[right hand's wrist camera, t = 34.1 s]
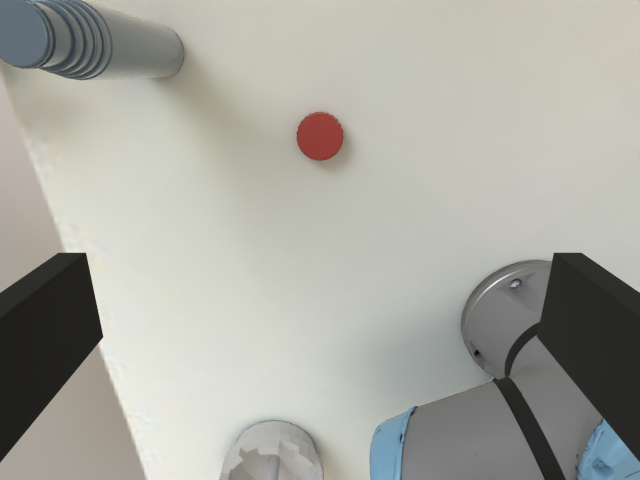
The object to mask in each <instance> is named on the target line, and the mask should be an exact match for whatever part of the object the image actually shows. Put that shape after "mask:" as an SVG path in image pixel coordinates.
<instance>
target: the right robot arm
mask: <svg viewBox="0 0 640 480" xmlns="http://www.w3.org/2000/svg"><path fill="white" fill-rule="evenodd" d="M461 330H462V336H463V340H464V342H465V345H466V346H467V348H468V350H469V352H470V354H471V356H472V357H473V359H474V360H475V362H476V363H477V364H478V365H479V366H480V367H481V368H482V369H483V370H485V371H486V372H488V373H489V374H491V375H492V376H493V377H495V378H494V379H493V381H492V382H489V383H487V384H484V385H481V386H478V387H475V388H473V389H470V390H467V391H464V392H461V393H459V394H456V395H453V396H450V397H447V398H444V399H441V400H438V401H435V402H432V403H429V404H426V405H423V406H420V407H419V406H418V407H417V406H415V407H412V408H410V409H409V410H408V412H405V413H403V414H401V415H398V416H396V417H393V418H391V419H388V420H386V421H384V422H383V423H381V424H380V425H379V426H378V427H377V429H376V430H375V433H374V435H373V438H372V443H371V447H370V477H371V480H640V293H639V292H638V291H636V290H635V289H633V288H632V287H630V286H629V285H627V284H626V283H625V282H623V281H622V280H620V279H619V278H617V277H616V276H614V275H613V274H611V273H610V272H609V271H607V270H606V269H604V268H603V267H601V266H600V265H598V264H597V263H595V262H594V261H593V260H591V259H590V258H588V257H587V256H585V255H584V254H582V253H554V256H553V260H552V262H549V261H540V260H535V261H524V262H519V263H516V264H512V265H509V266H507V267H504V268H502V269H500V270H498V271H497V272H495V273H493V274H492V275H490V276H489V277H488V278H486V279H485V280H484V281H483V282H482V283H481V284H480V285H479V286H478V287H477V288H476V289H475V290H474V292H473V293H472V294H471V296H470V297H469V299H468V301H467V303H466V305H465V308H464V311H463V315H462V321H461ZM102 338H103V333H102V328H101V324H100V319H99V314H98V309H97V304H96V299H95V294H94V290H93V285H92V280H91V275H90V270H89V265H88V260H87V256H86V253H58V254H56V255H55V256H53V257H52V258H50V259H49V260H48V261H46V262H45V263H43V264H42V265H40V266H39V267H37V268H36V269H34V270H33V271H32V272H30V273H29V274H27V275H26V276H24V277H23V278H21V279H20V280H19V281H17V282H15V283H14V284H13V285H11V286H10V287H8V288H7V289H5V290H4V291H2V292H1V293H0V462H1V461H2V460H3V458H4V457H5V456H6V455H7V454H8V452H9V451H10V450H11V449H12V447H13V446H14V445H15V444H16V443H17V441H18V440H19V439H20V438H21V436H22V435H23V434H24V433H25V432H26V430H27V429H28V428H29V427H30V426H31V424H32V423H33V422H34V421H35V419H36V418H37V417H38V416H39V415H40V413H41V412H42V411H43V410H44V408H45V407H46V406H47V405H48V404H49V402H50V401H51V400H52V399H53V398H54V396H55V395H56V394H57V393H58V391H59V390H60V389H61V388H62V387H63V385H64V384H65V383H66V382H67V380H68V379H69V378H70V377H71V376H72V374H73V373H74V372H75V371H76V369H77V368H78V367H79V366H80V365H81V363H82V362H83V361H84V360H85V359H86V357H87V356H88V355H89V354H90V352H91V351H92V350H93V349H94V348H95V346H96V345H97V344H98V343H99V342H100V340H101V339H102Z"/></svg>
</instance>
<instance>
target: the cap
mask: <svg viewBox="0 0 640 480" xmlns="http://www.w3.org/2000/svg"><path fill="white" fill-rule="evenodd" d="M298 128H299V129H298V132H297V141H298V146H299V147H300V149H301V151H302V152H303V153H304V154H305V155H306V156H307V157H309V158H311V159H314V160H326V159H329V158H331V157H332V156H334V155H335V154H336V153H337V152H338V151H339V149H340V147H341V145H342V141H343V133H342V132H343V131H342V129H341V125H340V124H339V123H338V121H337V119H335V118H334V117H333V115H332V116H331V115H330V114H328V113H324V112H316V113H313V114H310V115H308V116H307V117H305V119H304V120H303V121H301V124H300V126H299V127H298Z"/></svg>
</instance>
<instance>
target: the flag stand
mask: <svg viewBox="0 0 640 480" xmlns="http://www.w3.org/2000/svg"><path fill="white" fill-rule="evenodd" d="M219 480H324V474H323V465H322V462H321V459H320V457H319V455H318V454H317V453H316V451H315V445H314V443H313V441H312V439H311V438H310V436H309V435H308V434H307V433H306V432H305V431H304V430H302V429H301V428H299V427H297V426H295V425H293V424H290V423H286V422H282V421H267V422H262V423H258V424H255V425H253V426H251V427H249V428H248V429H247V430H245V431H244V432H243V433H242V434H241V435H240V437H239V438H238V440H237V442H236V444H235V445H234V446H233V447H232V448H231V449H230V450H229V451H228V453H227V455H226V457H225V459H224V463H223V467H222V471H221V475H220V479H219Z"/></svg>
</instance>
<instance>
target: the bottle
mask: <svg viewBox="0 0 640 480" xmlns="http://www.w3.org/2000/svg"><path fill="white" fill-rule="evenodd" d="M0 58H1V59H3V60H4V61H5V62H7V63H9V64H11V65H13V66H15V67H19V68H27V69H33V68H39V69H42V70H45V71H47V72H50V73H54V74H56V75H59V76H62V77H65V78H70V79H76V80H108V79H141V78H166V77H170V76H172V75H174V74H175V73H176V72H177V71H178V70H179V69H180V68H181V66H182V63H183V60H184V49H183V45H182V43H181V40H180V39H179V37H178V36H177V34H176V33H175V32H174V31H173V30H171V29H170V28H168V27H166V26H164V25H161V24H157V23H154V22H151V21H148V20H144V19H141V18H138V17H135V16H131V15H128V14H125V13H121V12H118V11H115V10H112V9H108V8H105V7H102V6H99V5H95V4H92V3H89V2H85V1H82V0H0Z"/></svg>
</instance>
